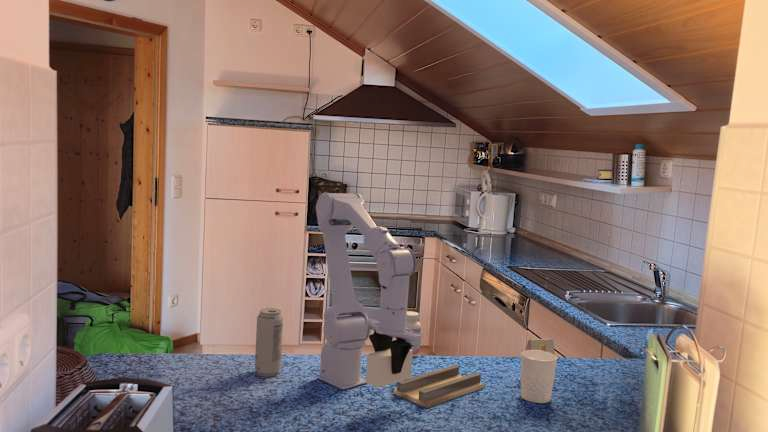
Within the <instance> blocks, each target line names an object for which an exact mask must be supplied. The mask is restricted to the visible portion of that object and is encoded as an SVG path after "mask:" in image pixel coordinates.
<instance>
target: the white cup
mask: <svg viewBox="0 0 768 432" xmlns="http://www.w3.org/2000/svg"><path fill="white" fill-rule="evenodd" d="M520 359H521V360H520V361H521V363H520V398H522V399H523V400H525V401H527V402H531V403H535V404H536V403H537V404H545V403H549V402H551V400H552V395H553V394H552V393H553V388H554V382H555V377H556V370H557V362H558V357H557V356H556V354H555V355H554V354H552V353H549V352H545V351H540V350H526V351H525V350H524V351H522V352H521V356H520Z"/></svg>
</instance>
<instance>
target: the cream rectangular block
mask: <svg viewBox="0 0 768 432" xmlns="http://www.w3.org/2000/svg"><path fill="white" fill-rule="evenodd" d="M366 356H367V357H366V370H365V371H366V372H365V373H366V374H365V379H366V383H365V384H369V385H371V386H373V387H375V388H380V387H384V386H388V385H390V384H391V385H392V384H393V383H397V382H399V381H403V380H406V379H409V378H412V371H413V370H412V369H413V367H412V366H413V357H412V356H413V350H411V349H410V351H409V352H408V354H407V356H406V359H405V361H404V364H403V367H402V370H401V373H398V374H392V369H391V362H392V358H391V350H390V349H387V350H383V351H379V352H375V351H374V352H371V353H367V355H366Z"/></svg>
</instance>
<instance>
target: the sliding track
mask: <svg viewBox="0 0 768 432" xmlns="http://www.w3.org/2000/svg"><path fill="white" fill-rule="evenodd" d="M481 376H482V374H481V373H478V372H473V373H470V374H467V375H460V366H458V365H455V364H454V365H453V364H452V365H449V366H447V367H444V368H440V369H437V370H434V371H430V372H427V373H423V374H420V375H418V376H414V377H413V376H412V377H411V378H408V379H405V380H401V381H398V382H396V383H397V384H396V388H394V389H393V395H396V396H398V397H399V398H402V399H405V400H407V401H410V402H412V403H414V404H417V405H418V406H422V407H423V408H426V409H429V408H431V407H434V406H436V405H439V404H442V403H445V402H448V401H450V400H453V399H456V398H460V397H462V396H465V395H467V394H471V393H473V392H476V391H479V390H482V389H484V383H482V382H481V380H482V379H481Z"/></svg>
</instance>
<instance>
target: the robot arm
mask: <svg viewBox="0 0 768 432" xmlns="http://www.w3.org/2000/svg"><path fill="white" fill-rule="evenodd" d="M315 212H316V219H317V224H318V225H317V226H318V229H319V230H320V232H322V237H323V245H324V251H325V257H326V265H327V271H328V278H329V284H330V285H329V286H330V291H331V298H332V305H330V307H329V308H328V309H327V310H326V311H325V312H324V314H323V319H324V321H323V336H324V339H325V340H326V342H325V343H324V344H323V346H322V348H321V352H320V366H319V368H320V369H319V375H316V378H317V379H319V380H321V381H322V382H326V383H327V384H329V385H332V386H334V387H335V388H338V389H341V390H348V389H350V388H354V387H358V386H361V385H364V384H367V383H366V378H363V377H361V373H362V372H361V371H362V354H363V352H362V351H363V346H365V345H366V341H367V340H370V343H371V344H372V347H373V350H374V352H379V351H383V350H387V349H390V350H391V358H392V362H391V369H392V374H398V373H401V370H402V367H403V364H404V361H405V359H406V356H407V354H408V352H409V351H410V349H411V348H412V346H415V345H419V344H420V345H421V343H422V334H420V335H419V334H417V333H415V332H413V331H412V330H410V329H408V328H407V327H406V320H407V311H408V301H409V288H410V287H409V285H410V277H411V276H412V275H414V273H415V272H416V269H417V258H416V255H415V254H414V252H413V250H412V249H411V248H409V247H404V246H400V244H399V243H398V242H397V241H396V240H395V238H394V237H393V236H392V234H390V233H389V230H388V228H387V227H383V226H377V225H376V223H375V221H374V220H373V219H372V217H371V216H370V215H369V213H368V211H367V210H366V201H365V198H363V197H362V195H361V194H360V193H358V192H353V193H345V192H344V193H343V192H342V193H341V192H340V193H338V192H337V193H336V192H335V193H334V192H333V193H332V192H331V193H330V192H326V191H325V192H322V193H321V194H320V195H319V197H318V199H317V202H316V204H315ZM353 228H355V229H356V230H357V231H358V232H359V233H360V234H361V235H362V236H363V245H364V246H365V248H366V249H367V250H368V251H369V253H370V254H371V255H372V257H373V258H374V259H375V260H376V269H377V272H378V282H379V285H380V299H379V314H378V315H379V316H378V320H377V319H373V318H369V317H368V315H367V310H366V307H365V306H364V305H362V304H360V303H359V302H358V301H357V300H356V297H355V296H356V295H355V291H354V284H353V283H354V282H353V278H352V272H351V265H350V258H349V253H348V246H347V239H346V236H347V235H346V234H347V233H348V232H350V231H351V230H353ZM372 331H373V333H371V332H372ZM393 339H394V340H393Z"/></svg>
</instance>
